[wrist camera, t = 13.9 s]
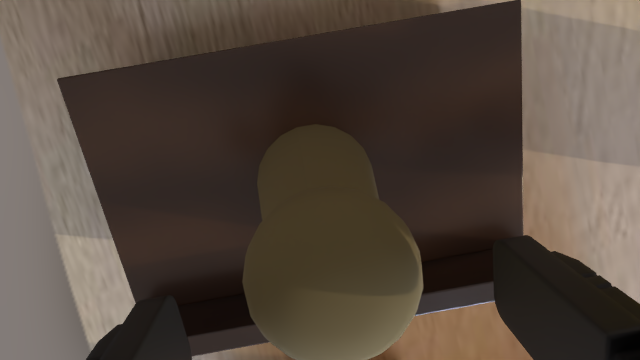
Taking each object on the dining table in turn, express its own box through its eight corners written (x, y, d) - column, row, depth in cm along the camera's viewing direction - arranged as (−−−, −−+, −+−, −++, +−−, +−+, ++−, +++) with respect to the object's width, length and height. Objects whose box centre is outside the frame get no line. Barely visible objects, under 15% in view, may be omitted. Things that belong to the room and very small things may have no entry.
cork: (371, 234, 22) (444, 399, 11) (259, 237, 21) (225, 411, 11) (375, 123, 20) (469, 194, 9) (254, 124, 19) (208, 199, 9)
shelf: (137, 72, 28) (11, 82, 15) (444, 20, 28) (563, -13, 16) (189, 249, 32) (122, 369, 20) (455, 202, 32) (557, 290, 20)
